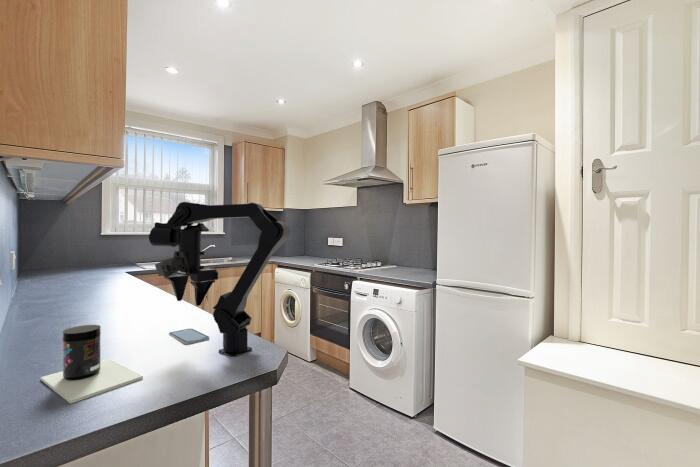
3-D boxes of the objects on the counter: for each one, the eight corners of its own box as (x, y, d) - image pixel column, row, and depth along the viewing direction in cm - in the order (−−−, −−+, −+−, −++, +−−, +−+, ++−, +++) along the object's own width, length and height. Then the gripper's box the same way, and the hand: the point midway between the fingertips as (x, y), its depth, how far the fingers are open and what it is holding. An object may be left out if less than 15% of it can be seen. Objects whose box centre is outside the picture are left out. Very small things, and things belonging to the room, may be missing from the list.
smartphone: (191, 328, 112) (210, 337, 102) (191, 330, 112) (210, 340, 102) (167, 332, 107) (185, 342, 96) (167, 335, 107) (185, 346, 96)
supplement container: (78, 368, 78) (78, 324, 78) (107, 368, 79) (107, 324, 78) (54, 381, 71) (53, 333, 71) (86, 381, 72) (86, 333, 72)
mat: (142, 378, 75) (142, 376, 75) (70, 403, 64) (70, 400, 64) (108, 360, 84) (108, 358, 84) (40, 379, 74) (40, 377, 74)
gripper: (142, 246, 91) (141, 303, 91) (180, 250, 81) (179, 314, 81) (181, 245, 100) (180, 297, 100) (220, 249, 90) (218, 306, 90)
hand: (188, 303), depth 93 cm, fingers open, 9 cm apart
